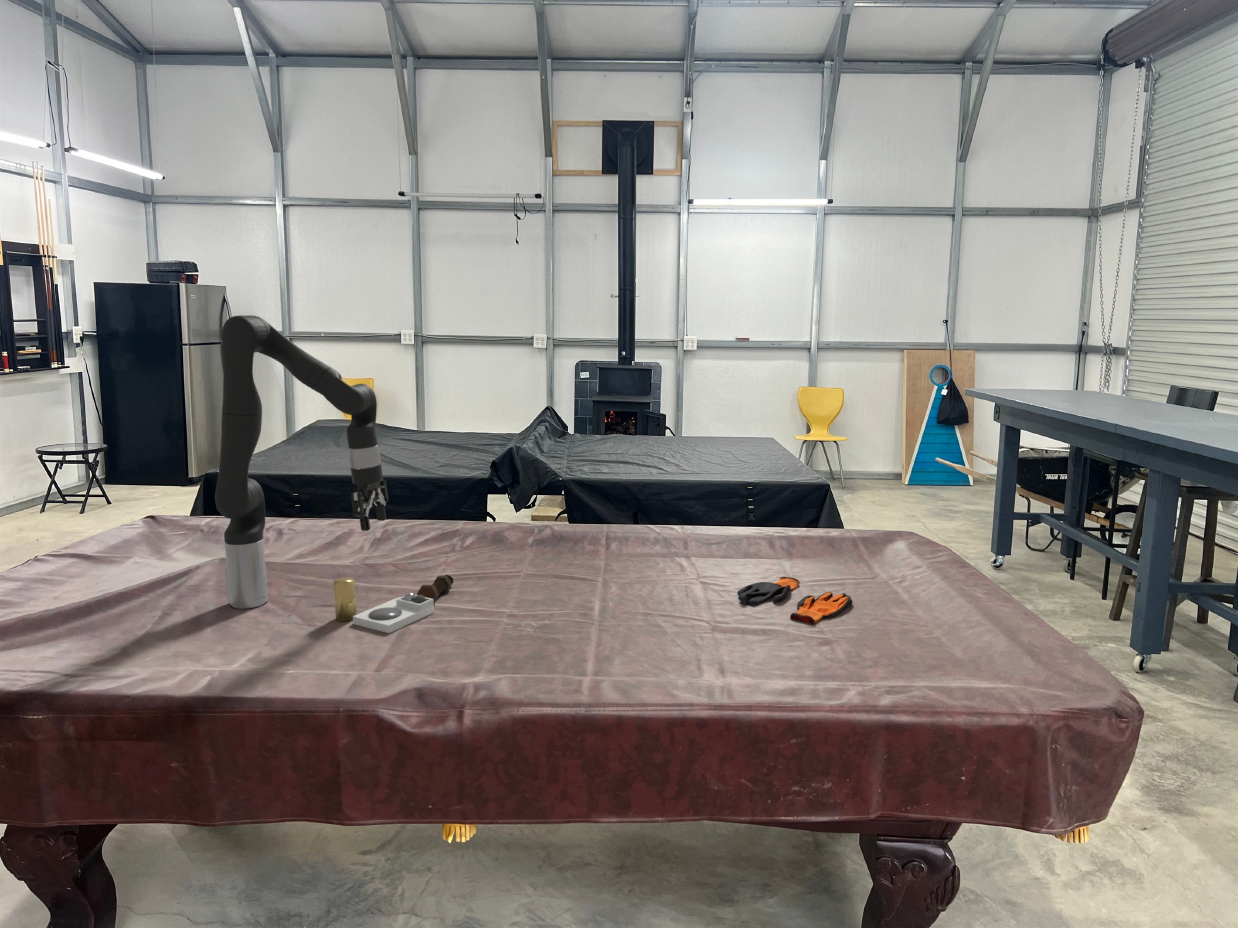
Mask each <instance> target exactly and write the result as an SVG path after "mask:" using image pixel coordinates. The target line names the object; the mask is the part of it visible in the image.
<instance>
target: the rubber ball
mask: <svg viewBox="0 0 1238 928" xmlns="http://www.w3.org/2000/svg"><path fill="white" fill-rule="evenodd" d="M416 595H417V594H416ZM425 601H426V598H425V597H424V596H423V595H417V596H416V597H415V598H414V603H418V604H420V603H423V602H425Z"/></svg>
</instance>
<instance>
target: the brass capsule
mask: <svg viewBox="0 0 1238 928" xmlns="http://www.w3.org/2000/svg"><path fill="white" fill-rule="evenodd" d="M355 580H356V579H355V578H354V577H350V576H344V577H343V576H342V577H339V578H338V577H337V578H335V579H334V580H333V592H334V595H333V597H334V609H335V610H334V611H335V621H337V622H341V623H345V622H348V623H349V622H353V616H355V615H357V614H358V613H357V595H356V582H355Z"/></svg>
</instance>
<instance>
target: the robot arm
mask: <svg viewBox="0 0 1238 928" xmlns="http://www.w3.org/2000/svg"><path fill="white" fill-rule="evenodd" d="M221 350H222V352H221V353H222V361H223V362H222V363H223V364H222V365H223V380H222V383H223V384H222V385H223V386H222V407H221V422H220V425H221V427H220V428H221V430H220V431H221V434H220V435H221V438H220V451H219V452H220V453H219V454H220V456H219V467H218V473H217V481H216V485H215V486H216V487H215V493H214V494H215V495H214V502H215V506H216V510H217V511H218V512H219V514H220V515H222V517H224V518H226V519H229V523H228V526H227V527H226V529H225V531H224V533H223V537H224V538H223V539H224V549H225V560H226V568H225V570H224V573H225V582H226V583H225V584H226V593H227V603H228V602H230V603H229V605H231V606H232V608H233V607H234V609H240V610H242V609H244V610H245V609H251V608H252V609H253V608H256V607H261V606H263V605H264V604H263V603H265V602H266V601H267V600H268V601H269V595H268V594H269V593H268V581H267V580H268V579H267V568H266V555H265V554H266V553H265V545H264V531H265V528H266V507H265V506H266V503H265V494H264V491H263V488H262V486H261V485H260V483H259V482H258V481H257V480H255V479H254V478H250V477H249V469H250V464H251V460H252V457H253V455H254V452H255V450H256V448H257V445H258V443H259V439H260V436H261V431H262V425H263V424H262V423H263V418H262V417H263V405H262V400H261V397H260V394H259V390H258V389H257V387H256V383H255V381H254V380H255V379H254V374H253V373H254V372H253V369H254V368H253V366H254V356H255V353H259V354H261V355H263V356H266V357H268V358H271V359H273V360H274V361H276V362H278V363H279V364H281V365H282V366H283V367H284V368H286V370H287V371H288V372H289V373H290V374H291V375H292V376H293V377H294V378H295V379H296V380H297V381H299V382H300V383H301V384H303V385H305V386H306V387H308V388H310V389H311V390H313V391H315V392H316V393H319V394H320V395H321V396H323V397H324V398H325V399H326V400H327V402H329V403H330V404H331V405H332V406H333V407H334V408H335V409H337V410H338V411H340V412H341V413H344V415H345V414H346V415H349V416H351V418H350V419H351V421H350V423H349V424H348V426H347V428H346V438H347V439H346V440H347V445H348V461H349V468H350V474H351V481H352V484H353V485H356V486H357V492H355V491H354V492H351V493H350V497H351V498H350V499H351V508H352V515H353V517H358V518H359V525H360V530H361V531H362V532H368V531H370V530H371V522H370V516H369V513H370V509H371V508H372V507H373V504H374V505H375V514H376V520H377V521H380V522H382V521H386V520H387V515H386V509H385V508H386V507H385V506H386V504H387V502H389V493H388V487H387V481H386V479H384V475H383V474H384V473H383V467H382V461H381V453H380V450H379V445H378V438H377V432H376V431H377V430H376V423H377V422H376V421H377V408H378V406H377V405H378V403H377V396H376V394H375V391H374V390H373V388H372V387H371V386H369V385H368V384H366V383H356V384H353V385H350V384H348V383H347V382H345V381H344V380H343V378H342V377H343V376H342V375H341V373H340V372H339V371H337V370H336V369H335V368H333V367H331V366H330V365H329V364H326V363H324V362H323V361H321V360H319V359H318V358H316V357H314V356H312V355H311V354H310V353H308V352H306V351H305V350H304V349H302V348H301V347H299V346H298V345H296V344H294V343H293V342H292V341H291V340H289V339H288V337H286V336H284V335H283V334H282V333H281V332H280V331H278V329H276V328H275V327H274V326H273V325H271V323H269V322H268V321H267V320H265V319H264V318H262V317H261V316H256V315H249V314H248V315H242V314H241V315H233V316H231V317H229V318H228V319H226V321H225V322H224V323H223V327H222V329H221ZM262 604H263V605H262ZM265 604H266V603H265ZM231 606H230V607H231Z"/></svg>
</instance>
